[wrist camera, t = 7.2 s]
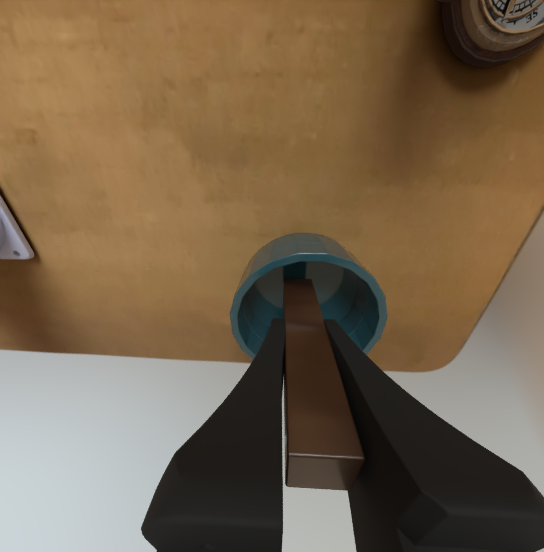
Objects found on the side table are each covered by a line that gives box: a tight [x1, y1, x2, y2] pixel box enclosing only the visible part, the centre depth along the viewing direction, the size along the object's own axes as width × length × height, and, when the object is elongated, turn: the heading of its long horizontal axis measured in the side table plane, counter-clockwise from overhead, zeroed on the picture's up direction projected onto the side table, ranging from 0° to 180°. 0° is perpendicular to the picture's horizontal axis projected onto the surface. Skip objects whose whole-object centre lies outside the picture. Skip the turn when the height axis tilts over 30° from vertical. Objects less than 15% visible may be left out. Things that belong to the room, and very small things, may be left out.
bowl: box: [230, 233, 387, 360], centre depth 15 cm, size 10×10×4 cm
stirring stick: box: [283, 279, 365, 491], centre depth 10 cm, size 2×2×10 cm
